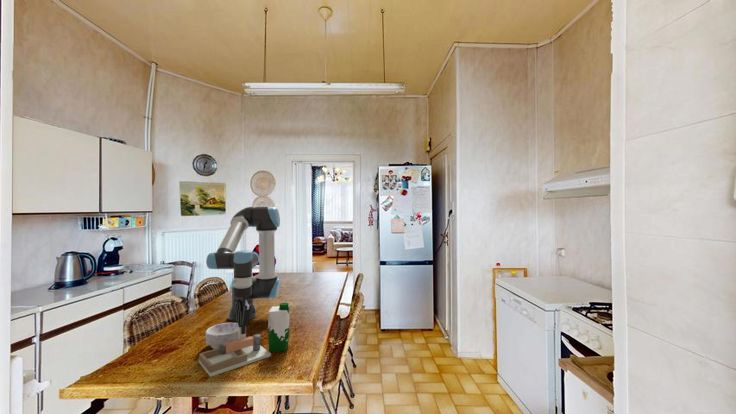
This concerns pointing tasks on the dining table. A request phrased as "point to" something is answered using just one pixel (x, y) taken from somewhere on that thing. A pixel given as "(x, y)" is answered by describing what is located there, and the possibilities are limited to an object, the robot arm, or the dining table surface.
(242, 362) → the seat board
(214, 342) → the paper bowls
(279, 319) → the soya milk
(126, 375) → the dining table surface
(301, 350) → the dining table surface
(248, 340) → the leg bar
